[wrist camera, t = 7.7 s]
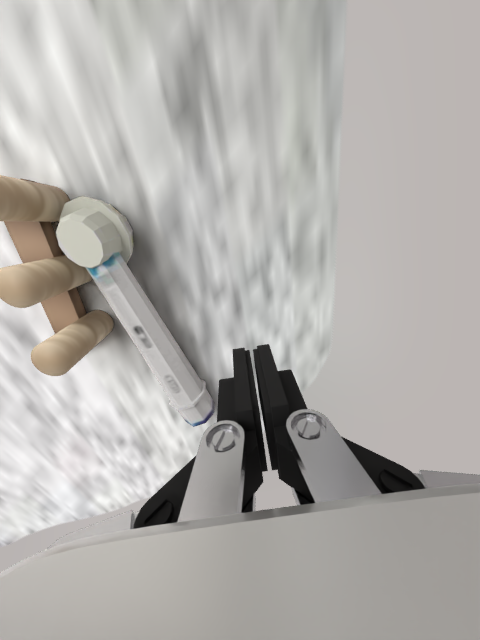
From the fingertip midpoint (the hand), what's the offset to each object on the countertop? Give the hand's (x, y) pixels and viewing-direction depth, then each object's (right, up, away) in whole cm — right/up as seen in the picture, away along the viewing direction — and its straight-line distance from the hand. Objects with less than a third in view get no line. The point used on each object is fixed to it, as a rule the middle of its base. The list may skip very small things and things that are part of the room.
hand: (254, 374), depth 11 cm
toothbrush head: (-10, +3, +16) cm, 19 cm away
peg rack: (-18, +8, +14) cm, 24 cm away
